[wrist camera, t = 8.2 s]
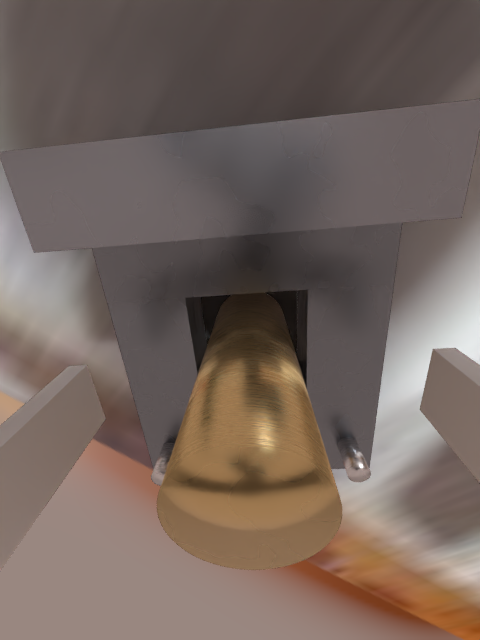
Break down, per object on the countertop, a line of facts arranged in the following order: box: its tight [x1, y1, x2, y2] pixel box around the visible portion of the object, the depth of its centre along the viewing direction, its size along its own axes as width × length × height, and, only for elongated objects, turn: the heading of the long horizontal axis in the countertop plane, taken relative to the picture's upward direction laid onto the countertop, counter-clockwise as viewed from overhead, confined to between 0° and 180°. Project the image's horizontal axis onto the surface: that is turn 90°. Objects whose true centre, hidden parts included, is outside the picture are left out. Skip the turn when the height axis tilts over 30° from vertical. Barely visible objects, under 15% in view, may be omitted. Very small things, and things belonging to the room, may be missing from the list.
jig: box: [0, 99, 480, 486], centre depth 14 cm, size 18×14×7 cm
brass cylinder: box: [157, 292, 342, 570], centre depth 12 cm, size 4×4×12 cm
